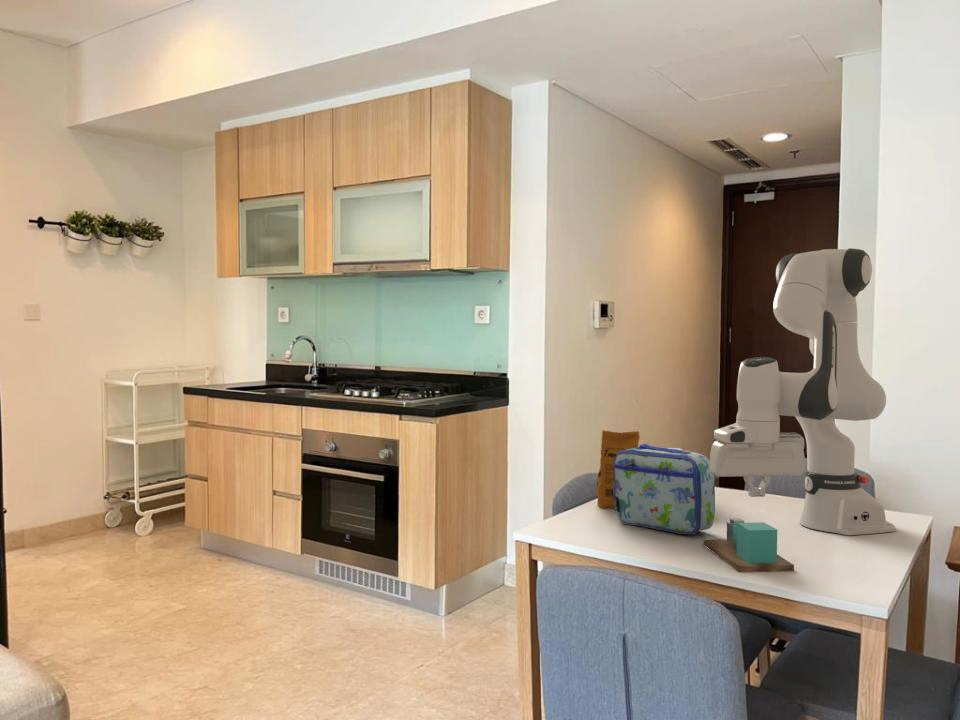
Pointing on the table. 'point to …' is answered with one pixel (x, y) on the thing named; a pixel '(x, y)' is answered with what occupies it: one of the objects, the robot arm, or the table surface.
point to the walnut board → (741, 565)
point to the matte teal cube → (757, 542)
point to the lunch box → (664, 489)
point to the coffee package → (612, 463)
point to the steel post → (733, 531)
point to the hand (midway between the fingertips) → (756, 496)
